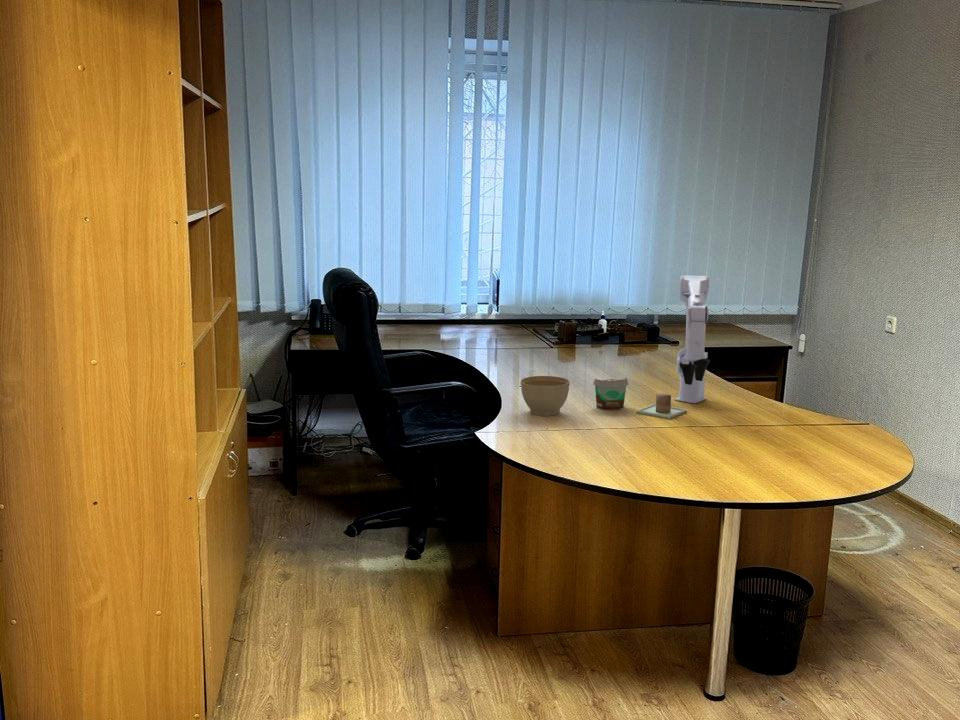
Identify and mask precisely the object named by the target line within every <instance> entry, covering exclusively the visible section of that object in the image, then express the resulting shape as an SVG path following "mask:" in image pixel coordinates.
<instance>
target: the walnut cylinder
mask: <svg viewBox="0 0 960 720" xmlns="http://www.w3.org/2000/svg"><path fill="white" fill-rule="evenodd" d="M655 395H656V396H655V404H656V412H658V413H670V412H671V407H672V406H671V405H672V394H669V393H657V394H655Z"/></svg>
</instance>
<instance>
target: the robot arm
mask: <svg viewBox="0 0 960 720" xmlns="http://www.w3.org/2000/svg"><path fill="white" fill-rule="evenodd" d="M709 290H710V277H709V275H684V274H682V275H681V276H680V278H679V298H680V299H679V300H680V301H681V302H683V303H684V305H685V309H686V311H685V312H686V313H685V314H686V316H685V318H686V319H685V346H684V347H683V348H682V349H681V350H679V351H678V352H677V358H676V373H677V374H679V389H678V390H679V393H678V396H677V397H675V398H674V399H673V400H674V401H677V402H678V401H679V402H684V403H689V404H697V403H700V402H702V401H704V400H707V397H705V391H706V390H705V389H706V380H705V378H704V376H705V374H706V372H707V368H708V366H709V364H710V363H711V360H710V359H708V355H709V354H708V353H709V352H706V351H705V347H706V329H707V327H706V326H707V323H708V321H709V307H708V305H707V304H706V301H707V298H708V294H709Z"/></svg>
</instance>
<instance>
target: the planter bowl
mask: <svg viewBox="0 0 960 720" xmlns="http://www.w3.org/2000/svg"><path fill="white" fill-rule="evenodd" d="M570 384H571V381H570V379H568V378H565V377H561V376H554V375H533V376H527V377H526V376H525V377H523V378H522V379H520V386H521V394H522V398H523V401H524V402H525V405H527V407H528V409H529V412H530V413H531V414H532V415H535V416H545V417H548V416H556V415H558V414H559V413H560V412H561V411H560V410H561V408H562V407H563V406H564V405H565V403H566V401H567V398H568V395H569V391H570Z"/></svg>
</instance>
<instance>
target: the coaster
mask: <svg viewBox="0 0 960 720" xmlns="http://www.w3.org/2000/svg"><path fill="white" fill-rule="evenodd" d="M687 411H688V410H687V409H686V408H681V407H675V406H671V412H670V413H658V412H656V403H653V404H650V405H646V406H644V407H641V408H639V409H636V414H639V415H640V414H641V415H646V416H650V417H656V418H662V419H668V420H671V419H673V418H675V417H678V416H681V415H683V414H685V413H687Z"/></svg>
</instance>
